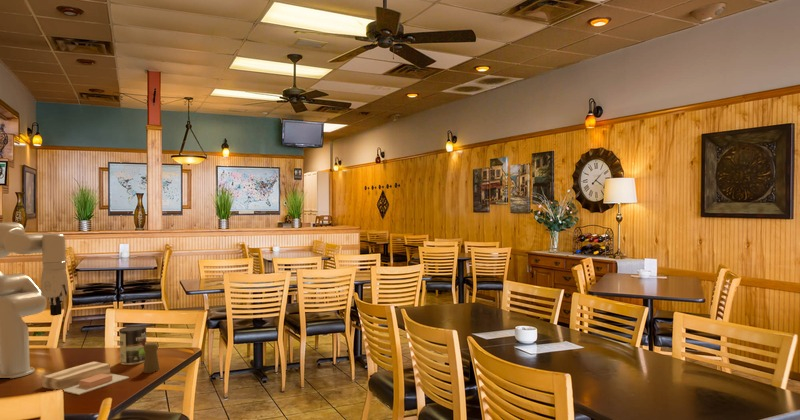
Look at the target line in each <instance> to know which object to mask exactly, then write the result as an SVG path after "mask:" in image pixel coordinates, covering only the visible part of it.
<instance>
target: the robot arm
mask: <svg viewBox="0 0 800 420" xmlns="http://www.w3.org/2000/svg"><path fill="white" fill-rule="evenodd" d="M66 249H67V248H66V236H65V235H64V234H62V233H51V232H40V233H38V232H37V233H26V230H25V227H24V226H23V225H22V224H21V223H19V222H15V221H11V222H9V221H8V222H7V221H6V222H5V221H4V222H0V259H1V258H6V257H8V256H9V255H10V254H17V255H32V254H41V256H42V258H41V259H42V270H41V278H40V288H39V287H38V285H36V283H35V282H34V281H33V279H32V278H31V277H30V276H28V275H27V274H24V273H13V274H5V273H3V272H2V270H0V378H10V379H15V378H21V377H25V376H28V375H31V374H33V373H34V372H35V367H33V366H30V363H31V362H30V361H31V360H30V338H29V336H30V335H29V334H30V333H29V326H28V324H27V323H26V322H25V321H24V320H23V318H24V317H29V316H35V315H38V314H40V313H42V312H44V311H45V310H46V308H47V306H48V304H49V311H50V313H49V314H50V316H52V317H54V316H60V315H62V304H63V301H64V300H66V299H67V297H66V296H67V295H68V294H69V282H68V281H69V280H68V274H67V255H66V254H67V253H66ZM47 300H48V303H47Z"/></svg>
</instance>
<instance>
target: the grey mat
mask: <svg viewBox="0 0 800 420" xmlns="http://www.w3.org/2000/svg"><path fill="white" fill-rule="evenodd" d="M108 375H112V379H113V381H110V382H107V383H104V384H101V385H98V386H95V387H92V388H87V387H82V386H79V384H76V385H73V386H70V387H67V388H64V389H63V390H64V392H63V393H69V394H73V395H76V396H77V395H78V396H80V395H83V394H86V393H89V392H92V391H96V390H98V389H101V388H103V387H107V386H110V385H113V384H116V383H119V382H123V381H125V380H128V379H130V377H129V376H127V375H120V374H116V373H110V374H108Z"/></svg>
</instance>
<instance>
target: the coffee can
mask: <svg viewBox="0 0 800 420" xmlns="http://www.w3.org/2000/svg"><path fill="white" fill-rule="evenodd" d="M118 330H119V331H118V332H119V350H120V351H119V352H120V354H119V356H120V365H124V366H131V365H132V366H133V365H138V364H144V360H145V351H144V345H145V344H147V326H146V325H131V326H125V327H122V328H119V329H118Z"/></svg>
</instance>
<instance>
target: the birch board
mask: <svg viewBox="0 0 800 420" xmlns="http://www.w3.org/2000/svg"><path fill="white" fill-rule="evenodd" d="M101 373H103V374H111V364H110V363H106V362H105V363H104V362H99V361H95V360H94V361H90V362H87V363H84V364H80V365H79V364H78V365H75V366H73V367H69V368H66V369H62V370H60V371H59V370H58V371H55V372H52V373H49V374H45V375H42V376H41V378H42V379H41V381H42V382H41V383H42V388H45V389H50V390H55V391H57V390H56V389H64V388H67V387H70V386H73V385H76V384H79V380H82V379H85V378H89V377H92V376H95V375H98V374H101Z"/></svg>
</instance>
